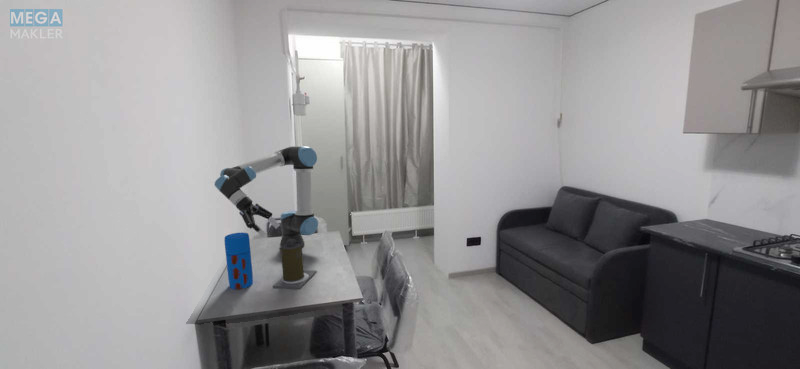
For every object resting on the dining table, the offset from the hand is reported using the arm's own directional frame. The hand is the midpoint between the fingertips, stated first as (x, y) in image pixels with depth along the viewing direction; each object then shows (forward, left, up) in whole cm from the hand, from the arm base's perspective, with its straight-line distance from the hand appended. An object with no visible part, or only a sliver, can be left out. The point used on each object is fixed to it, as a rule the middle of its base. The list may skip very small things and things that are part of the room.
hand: (271, 230), depth 177 cm
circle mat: (+1, +12, -25) cm, 27 cm away
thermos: (+10, -13, -25) cm, 30 cm away
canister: (+1, +11, -24) cm, 26 cm away
